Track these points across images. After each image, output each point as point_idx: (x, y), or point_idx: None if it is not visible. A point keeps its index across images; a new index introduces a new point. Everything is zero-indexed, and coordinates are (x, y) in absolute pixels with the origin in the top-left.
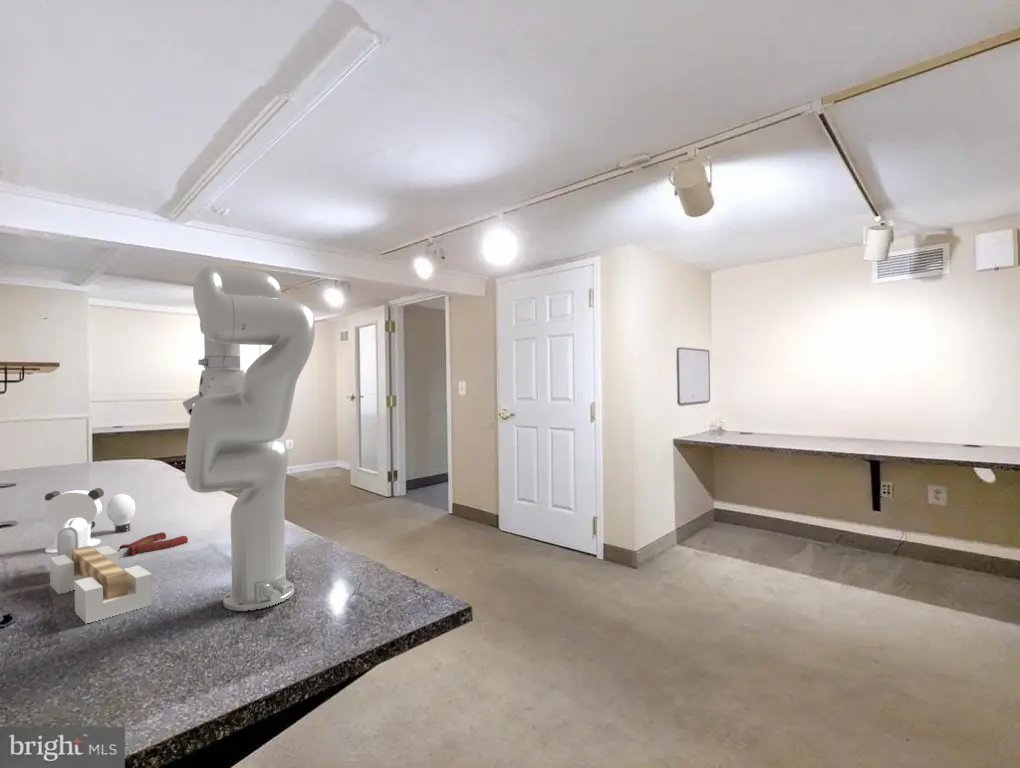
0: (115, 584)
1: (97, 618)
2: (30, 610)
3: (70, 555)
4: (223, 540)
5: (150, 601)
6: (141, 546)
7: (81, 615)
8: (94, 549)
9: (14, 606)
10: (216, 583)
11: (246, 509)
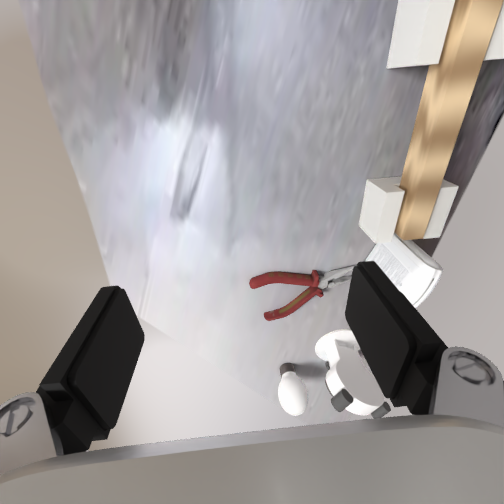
0: None
1: None
2: (474, 134)
3: (411, 243)
4: (209, 254)
5: None
6: (306, 280)
7: None
8: (391, 239)
9: (471, 169)
10: (292, 3)
11: None
